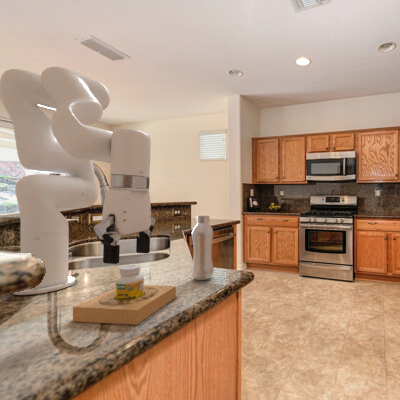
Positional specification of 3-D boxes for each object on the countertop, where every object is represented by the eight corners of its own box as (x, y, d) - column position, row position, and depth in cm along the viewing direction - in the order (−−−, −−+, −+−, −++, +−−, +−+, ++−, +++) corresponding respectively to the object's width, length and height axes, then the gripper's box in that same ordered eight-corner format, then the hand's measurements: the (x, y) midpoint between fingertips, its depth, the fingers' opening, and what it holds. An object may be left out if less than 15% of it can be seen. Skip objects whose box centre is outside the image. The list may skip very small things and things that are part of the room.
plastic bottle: (206, 283, 76) (207, 217, 76) (186, 281, 78) (187, 216, 77) (217, 276, 83) (218, 215, 82) (199, 275, 84) (199, 215, 84)
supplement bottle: (147, 302, 62) (147, 263, 62) (138, 312, 57) (138, 269, 57) (122, 304, 61) (122, 264, 61) (110, 314, 55) (111, 270, 55)
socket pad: (72, 321, 52) (72, 306, 52) (124, 295, 66) (124, 284, 66) (136, 324, 51) (136, 310, 51) (175, 297, 65) (175, 286, 65)
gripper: (141, 185, 67) (139, 249, 68) (80, 181, 50) (77, 267, 50) (168, 186, 67) (166, 250, 67) (115, 182, 50) (113, 269, 50)
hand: (128, 257), depth 59 cm, fingers open, 9 cm apart
